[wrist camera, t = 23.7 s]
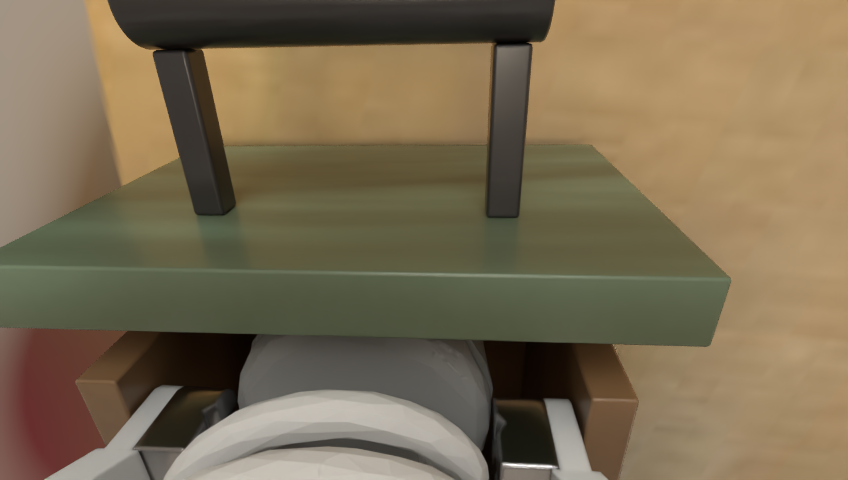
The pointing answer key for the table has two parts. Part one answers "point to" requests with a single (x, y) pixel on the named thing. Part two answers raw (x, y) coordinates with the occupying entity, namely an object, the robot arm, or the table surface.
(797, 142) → the table surface
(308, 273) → the drawer
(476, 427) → the light bulb
